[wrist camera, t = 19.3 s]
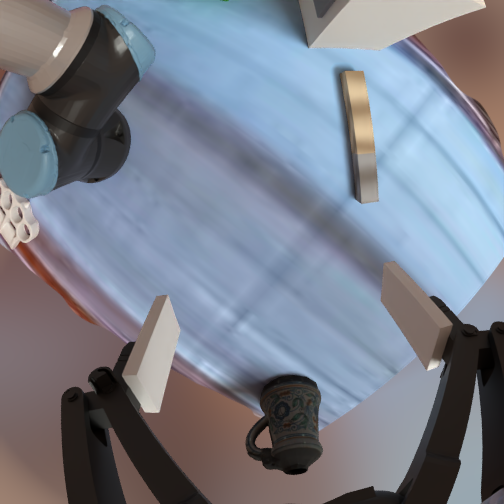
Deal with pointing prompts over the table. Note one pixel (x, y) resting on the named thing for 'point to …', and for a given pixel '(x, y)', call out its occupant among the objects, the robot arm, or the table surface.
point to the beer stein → (288, 425)
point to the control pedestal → (375, 20)
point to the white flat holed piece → (16, 218)
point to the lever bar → (360, 136)
